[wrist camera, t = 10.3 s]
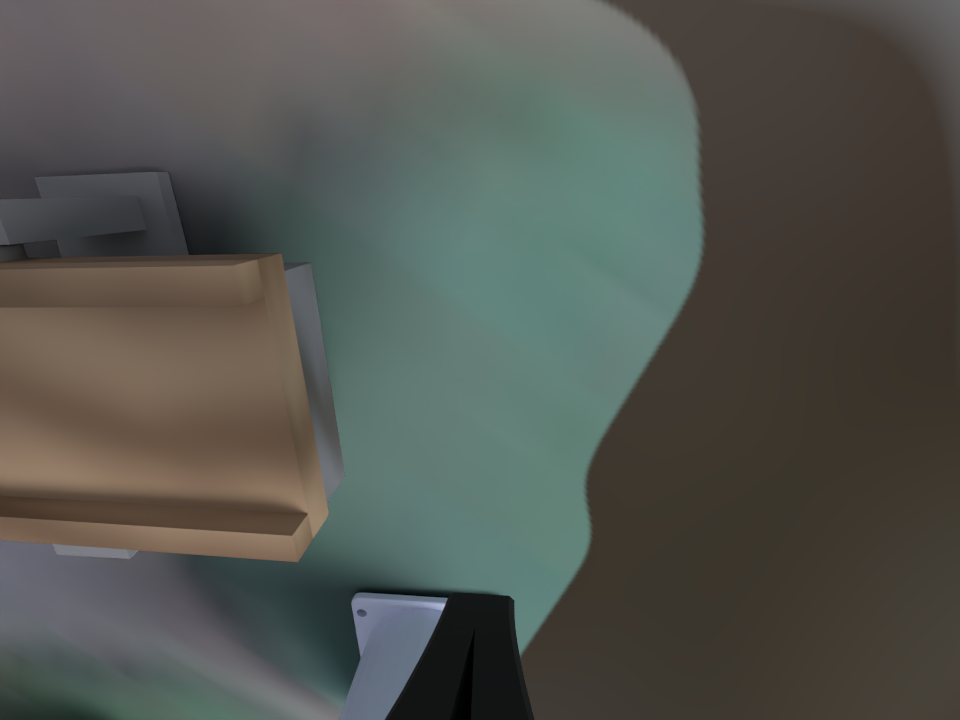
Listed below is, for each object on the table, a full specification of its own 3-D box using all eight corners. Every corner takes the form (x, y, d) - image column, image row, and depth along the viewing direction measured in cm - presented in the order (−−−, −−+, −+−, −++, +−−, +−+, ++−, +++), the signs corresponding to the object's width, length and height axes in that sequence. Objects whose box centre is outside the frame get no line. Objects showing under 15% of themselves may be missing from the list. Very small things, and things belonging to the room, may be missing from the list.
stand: (247, 486, 22) (161, 577, 17) (152, 483, 23) (40, 569, 18) (168, 172, 17) (13, 166, 12) (49, 177, 18) (-146, 173, 13)
